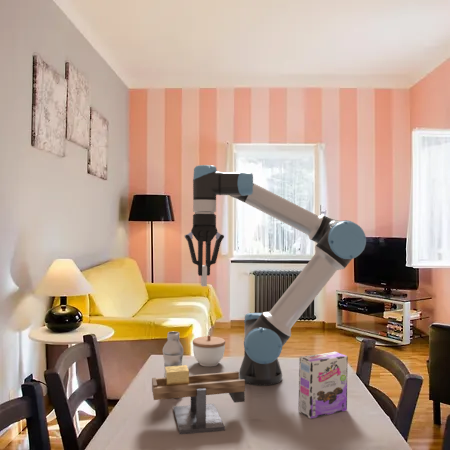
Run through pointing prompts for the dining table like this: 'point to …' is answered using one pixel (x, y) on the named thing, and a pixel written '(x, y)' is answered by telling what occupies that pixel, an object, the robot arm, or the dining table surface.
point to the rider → (176, 375)
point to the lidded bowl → (208, 350)
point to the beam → (202, 386)
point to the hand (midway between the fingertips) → (203, 285)
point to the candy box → (322, 384)
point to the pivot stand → (198, 416)
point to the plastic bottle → (173, 350)
